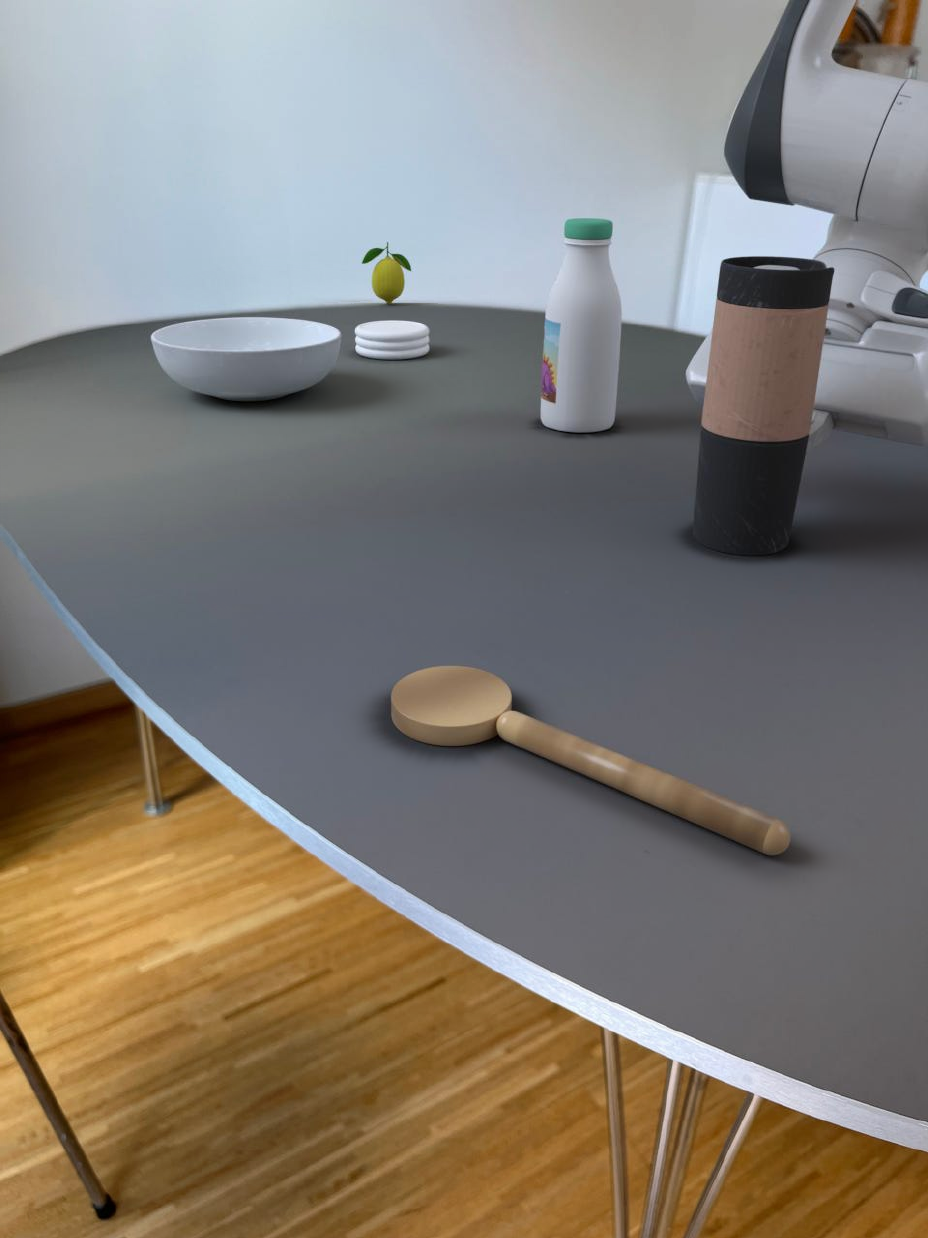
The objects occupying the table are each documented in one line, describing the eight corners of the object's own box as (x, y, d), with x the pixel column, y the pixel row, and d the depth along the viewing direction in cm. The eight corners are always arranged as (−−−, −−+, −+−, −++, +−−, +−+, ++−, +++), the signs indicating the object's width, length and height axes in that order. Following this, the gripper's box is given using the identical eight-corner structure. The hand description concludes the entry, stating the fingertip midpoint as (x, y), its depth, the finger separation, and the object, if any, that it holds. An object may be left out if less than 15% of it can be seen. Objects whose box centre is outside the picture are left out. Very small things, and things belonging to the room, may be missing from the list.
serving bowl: (333, 416, 109) (330, 350, 106) (136, 415, 109) (127, 349, 106) (351, 372, 128) (349, 315, 125) (183, 371, 128) (176, 314, 125)
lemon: (362, 305, 174) (360, 242, 169) (376, 300, 179) (374, 239, 174) (399, 308, 172) (398, 244, 168) (412, 302, 177) (411, 241, 173)
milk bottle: (623, 419, 109) (639, 218, 100) (601, 438, 103) (615, 224, 94) (555, 411, 112) (564, 214, 103) (528, 428, 106) (536, 220, 97)
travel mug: (668, 535, 79) (696, 261, 70) (728, 513, 83) (761, 253, 75) (753, 565, 74) (794, 273, 65) (812, 540, 78) (858, 263, 70)
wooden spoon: (815, 823, 47) (820, 794, 46) (753, 897, 42) (759, 866, 42) (444, 672, 59) (444, 648, 58) (366, 717, 55) (365, 691, 54)
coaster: (401, 363, 133) (401, 336, 132) (340, 354, 138) (339, 327, 136) (443, 350, 141) (443, 324, 139) (384, 342, 145) (383, 317, 144)
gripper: (717, 277, 85) (645, 417, 83) (977, 305, 73) (903, 470, 71) (735, 324, 90) (668, 458, 88) (981, 358, 79) (912, 513, 76)
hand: (775, 464), depth 79 cm, fingers closed
